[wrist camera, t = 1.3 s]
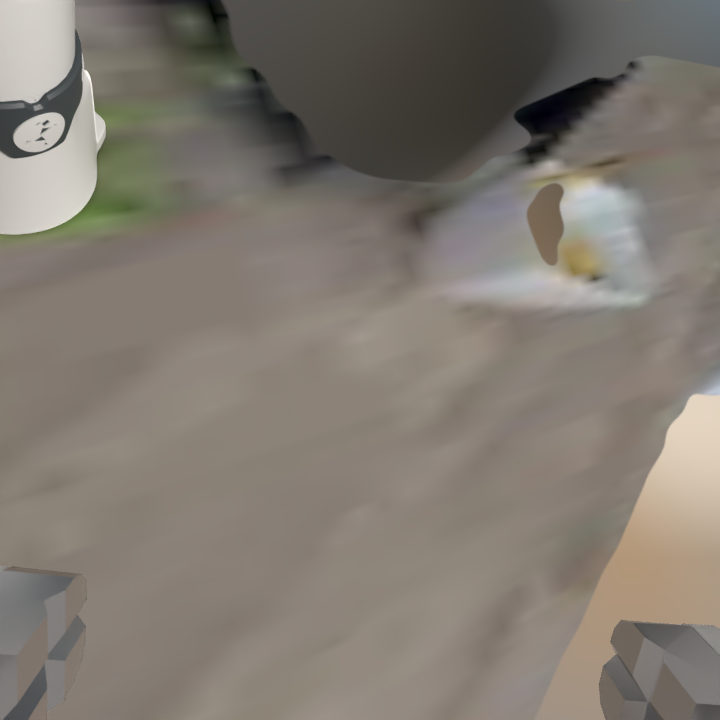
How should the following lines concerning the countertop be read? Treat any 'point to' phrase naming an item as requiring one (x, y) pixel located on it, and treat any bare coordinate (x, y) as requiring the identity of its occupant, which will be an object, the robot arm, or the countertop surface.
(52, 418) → the countertop surface
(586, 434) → the countertop surface
